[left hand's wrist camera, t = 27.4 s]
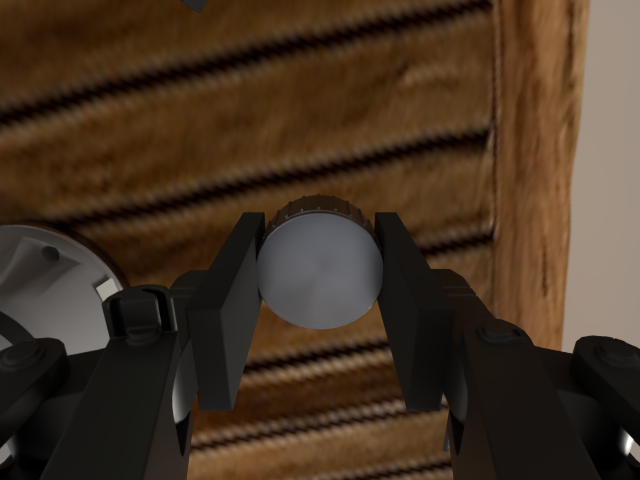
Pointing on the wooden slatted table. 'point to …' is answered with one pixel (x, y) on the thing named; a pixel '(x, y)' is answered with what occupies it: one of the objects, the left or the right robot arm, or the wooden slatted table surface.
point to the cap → (319, 263)
